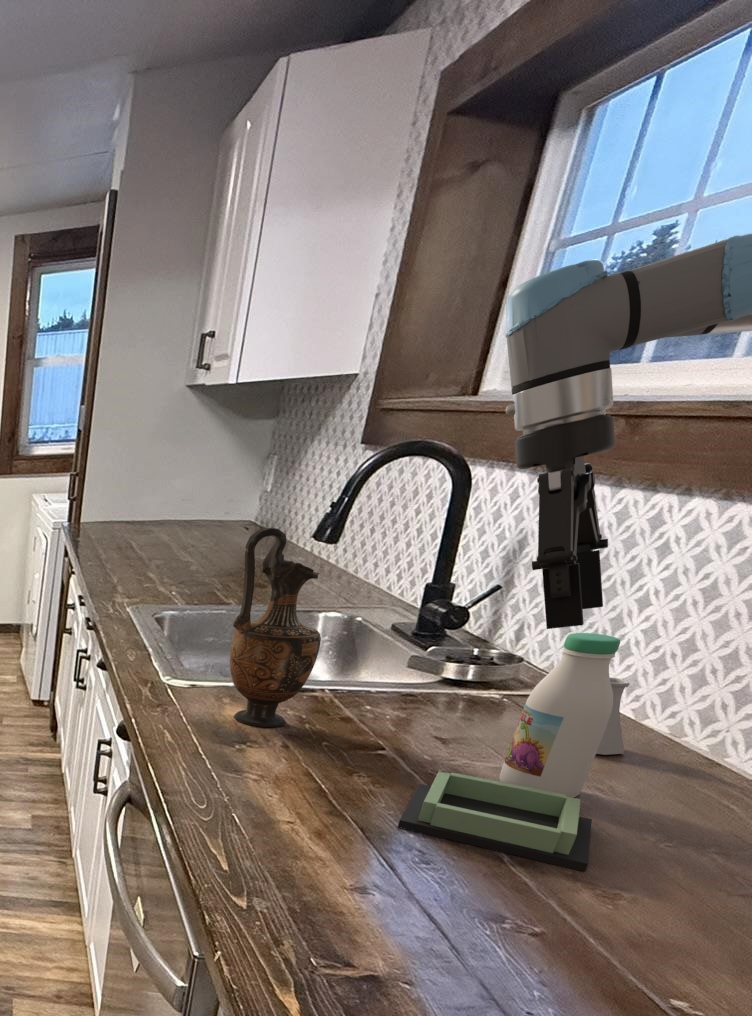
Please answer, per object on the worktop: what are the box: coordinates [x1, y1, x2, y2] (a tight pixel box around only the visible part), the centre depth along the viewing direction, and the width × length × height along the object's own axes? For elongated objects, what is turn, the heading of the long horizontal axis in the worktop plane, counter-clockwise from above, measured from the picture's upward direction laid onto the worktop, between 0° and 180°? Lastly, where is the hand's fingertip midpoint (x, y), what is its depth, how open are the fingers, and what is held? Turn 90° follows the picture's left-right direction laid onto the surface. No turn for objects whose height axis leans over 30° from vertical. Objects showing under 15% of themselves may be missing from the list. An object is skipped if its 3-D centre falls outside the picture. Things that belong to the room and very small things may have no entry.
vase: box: [229, 527, 322, 728], centre depth 127 cm, size 12×12×30 cm
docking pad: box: [397, 771, 593, 872], centre depth 96 cm, size 16×14×4 cm
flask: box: [596, 676, 631, 756], centre depth 115 cm, size 7×7×10 cm
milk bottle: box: [498, 632, 621, 798], centre depth 102 cm, size 8×8×20 cm
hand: (575, 617), depth 92 cm, fingers open, 13 cm apart
